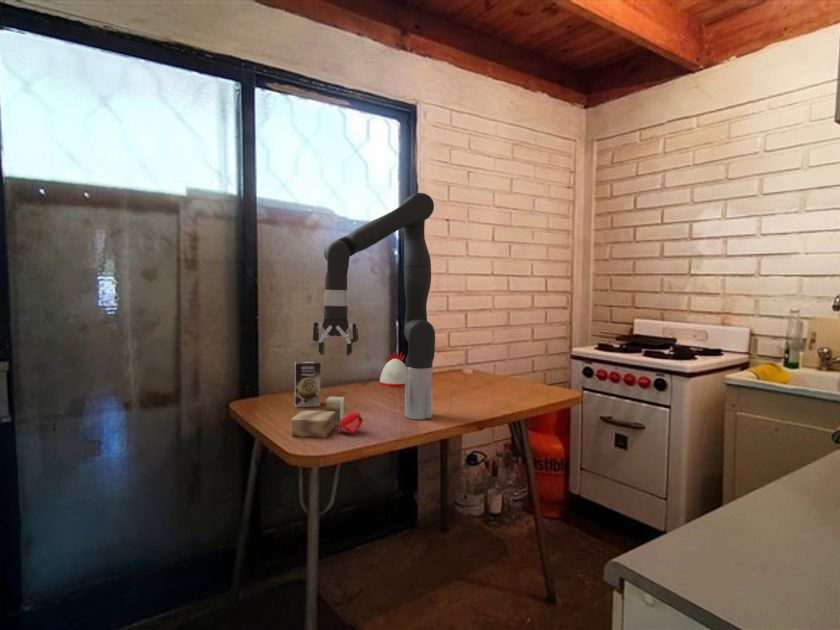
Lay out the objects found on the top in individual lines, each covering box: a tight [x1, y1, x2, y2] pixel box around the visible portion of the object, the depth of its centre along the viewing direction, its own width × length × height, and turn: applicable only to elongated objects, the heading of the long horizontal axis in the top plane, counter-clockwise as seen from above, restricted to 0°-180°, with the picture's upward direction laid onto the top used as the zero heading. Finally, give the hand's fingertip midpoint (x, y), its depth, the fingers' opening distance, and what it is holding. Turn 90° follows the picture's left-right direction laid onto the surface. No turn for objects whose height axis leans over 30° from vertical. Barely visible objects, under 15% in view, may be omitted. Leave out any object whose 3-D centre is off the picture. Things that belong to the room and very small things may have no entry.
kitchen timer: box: [379, 351, 406, 388], centre depth 223 cm, size 14×14×15 cm
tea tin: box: [325, 396, 345, 426], centre depth 160 cm, size 5×5×8 cm
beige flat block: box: [290, 410, 335, 438], centre depth 150 cm, size 11×11×5 cm
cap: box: [337, 412, 364, 436], centre depth 150 cm, size 8×6×6 cm
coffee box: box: [294, 360, 322, 408], centre depth 183 cm, size 9×6×16 cm
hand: (335, 354), depth 159 cm, fingers open, 8 cm apart
